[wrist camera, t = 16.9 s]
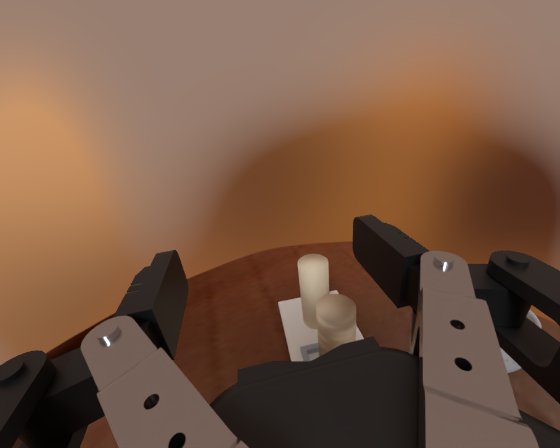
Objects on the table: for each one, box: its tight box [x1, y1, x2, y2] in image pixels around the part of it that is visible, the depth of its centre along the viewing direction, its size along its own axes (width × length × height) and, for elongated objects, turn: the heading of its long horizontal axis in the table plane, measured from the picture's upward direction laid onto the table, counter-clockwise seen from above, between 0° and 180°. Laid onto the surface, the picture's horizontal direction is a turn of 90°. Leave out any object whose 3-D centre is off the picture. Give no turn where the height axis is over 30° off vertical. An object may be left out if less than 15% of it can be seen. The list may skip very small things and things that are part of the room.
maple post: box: [316, 294, 356, 356], centre depth 33 cm, size 5×5×12 cm
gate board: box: [278, 254, 364, 361], centre depth 38 cm, size 22×12×14 cm, turn 9°
